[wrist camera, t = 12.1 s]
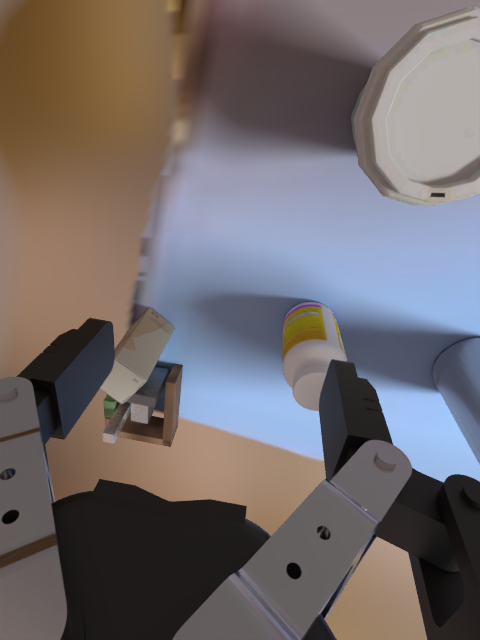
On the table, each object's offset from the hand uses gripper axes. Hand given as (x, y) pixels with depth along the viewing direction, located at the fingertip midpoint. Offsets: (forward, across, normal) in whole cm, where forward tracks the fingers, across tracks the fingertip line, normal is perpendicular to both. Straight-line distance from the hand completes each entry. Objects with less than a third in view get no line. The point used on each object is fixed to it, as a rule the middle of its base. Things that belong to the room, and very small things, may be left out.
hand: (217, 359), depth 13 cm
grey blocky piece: (+29, +12, +28) cm, 42 cm away
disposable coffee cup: (+29, -10, -9) cm, 32 cm away
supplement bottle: (+29, -8, +14) cm, 33 cm away
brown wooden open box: (+29, +12, +29) cm, 43 cm away
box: (+29, +12, +18) cm, 37 cm away
